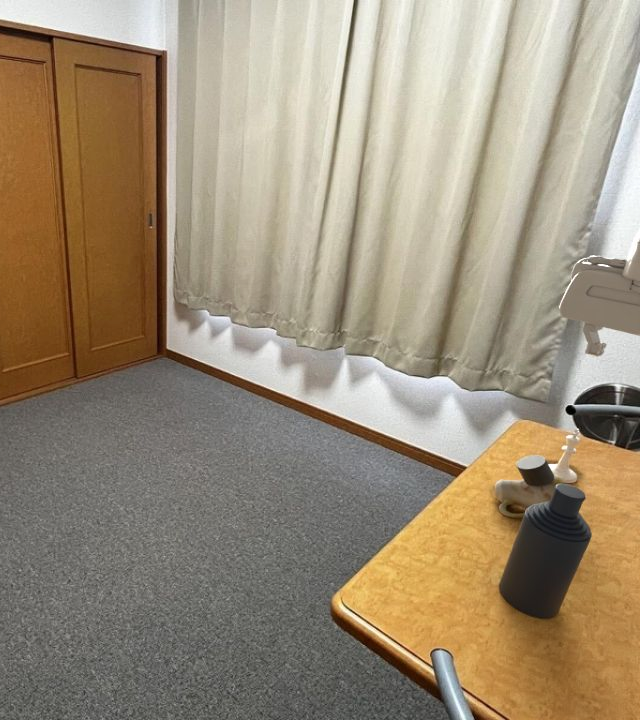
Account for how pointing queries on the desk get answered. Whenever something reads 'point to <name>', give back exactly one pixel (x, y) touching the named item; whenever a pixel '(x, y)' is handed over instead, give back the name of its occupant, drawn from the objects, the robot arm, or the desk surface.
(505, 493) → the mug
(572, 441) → the chess piece
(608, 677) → the desk surface
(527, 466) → the stopper
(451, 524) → the desk surface
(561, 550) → the flask
